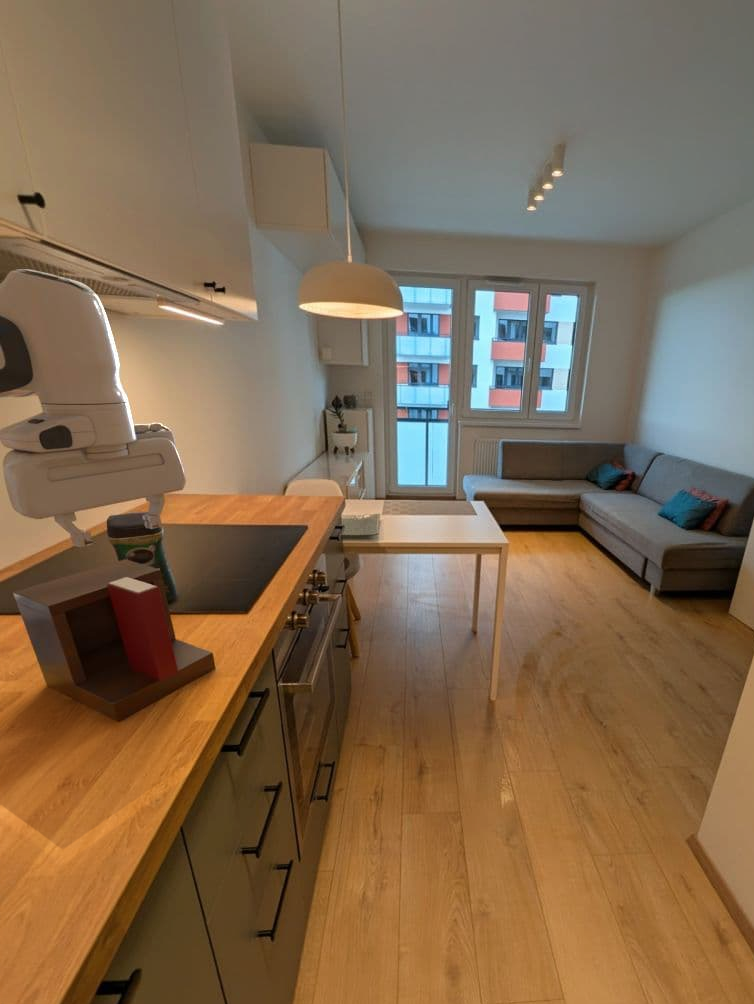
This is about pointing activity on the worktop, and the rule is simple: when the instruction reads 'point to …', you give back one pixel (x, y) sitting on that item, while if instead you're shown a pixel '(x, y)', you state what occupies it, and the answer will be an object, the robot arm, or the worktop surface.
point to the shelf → (99, 641)
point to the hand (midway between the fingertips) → (120, 536)
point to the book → (143, 627)
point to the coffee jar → (141, 546)
